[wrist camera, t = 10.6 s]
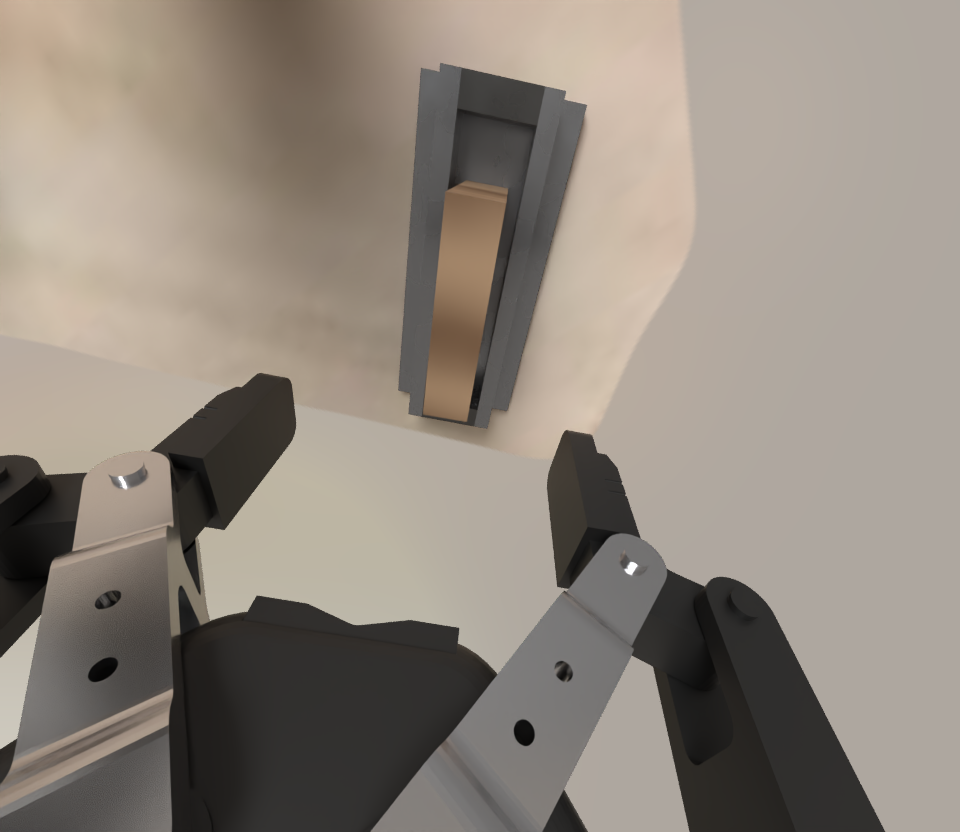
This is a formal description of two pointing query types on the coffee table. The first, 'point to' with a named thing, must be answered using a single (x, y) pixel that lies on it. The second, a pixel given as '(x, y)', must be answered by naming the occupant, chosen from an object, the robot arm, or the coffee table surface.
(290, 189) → the coffee table surface
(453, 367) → the door panel
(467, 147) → the bottom track
